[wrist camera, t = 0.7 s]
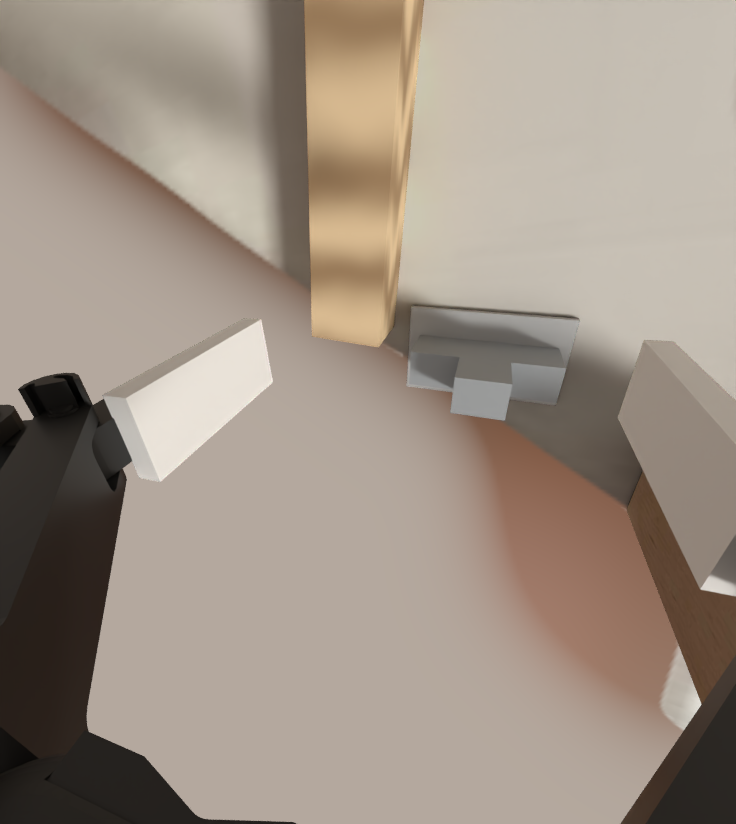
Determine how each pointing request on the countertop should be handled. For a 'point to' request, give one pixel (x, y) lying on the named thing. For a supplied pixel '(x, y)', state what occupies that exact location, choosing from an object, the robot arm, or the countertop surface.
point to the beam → (358, 159)
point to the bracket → (489, 357)
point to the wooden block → (684, 595)
